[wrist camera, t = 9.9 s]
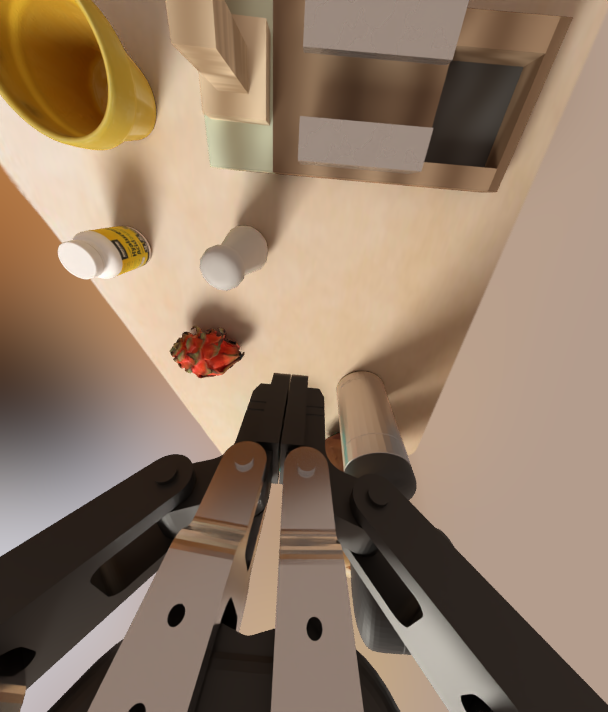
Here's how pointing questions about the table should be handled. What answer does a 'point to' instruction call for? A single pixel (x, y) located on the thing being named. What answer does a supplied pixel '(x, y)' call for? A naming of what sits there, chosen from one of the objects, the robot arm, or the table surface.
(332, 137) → the grey slotted block
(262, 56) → the slider block
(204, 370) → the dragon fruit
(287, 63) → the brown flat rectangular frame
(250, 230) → the salt shaker
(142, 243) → the supplement bottle
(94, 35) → the plant pot
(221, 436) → the table surface
